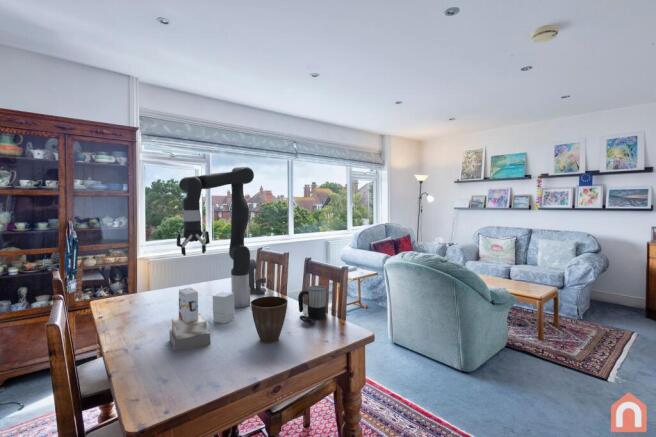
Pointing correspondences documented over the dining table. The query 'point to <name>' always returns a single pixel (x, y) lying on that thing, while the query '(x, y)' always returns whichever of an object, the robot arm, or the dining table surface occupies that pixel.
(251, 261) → the faucet
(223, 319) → the supplement box
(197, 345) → the tower base block
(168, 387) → the dining table surface
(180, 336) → the tower top block
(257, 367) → the dining table surface
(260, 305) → the plant pot
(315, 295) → the milk frother
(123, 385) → the dining table surface
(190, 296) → the ink box
